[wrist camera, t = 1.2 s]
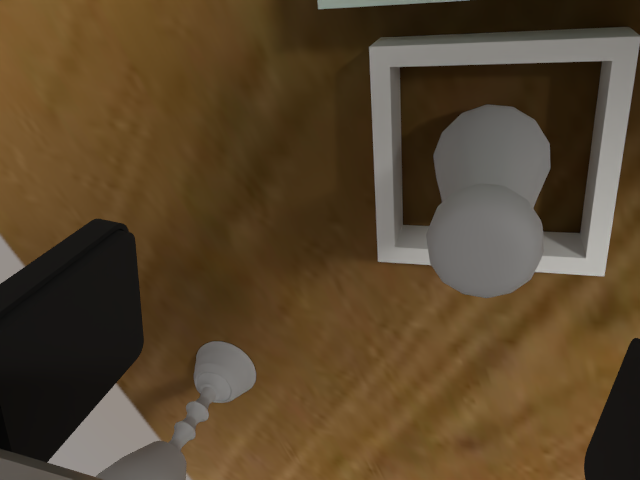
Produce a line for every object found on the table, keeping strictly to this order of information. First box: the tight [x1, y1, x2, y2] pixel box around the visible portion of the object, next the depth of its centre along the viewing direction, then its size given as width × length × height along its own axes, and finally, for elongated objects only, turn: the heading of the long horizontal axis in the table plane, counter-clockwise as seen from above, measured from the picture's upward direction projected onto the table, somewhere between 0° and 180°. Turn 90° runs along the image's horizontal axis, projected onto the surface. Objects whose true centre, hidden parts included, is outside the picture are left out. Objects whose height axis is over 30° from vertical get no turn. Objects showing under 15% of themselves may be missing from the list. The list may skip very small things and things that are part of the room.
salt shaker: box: [426, 104, 551, 298], centre depth 27 cm, size 6×6×13 cm
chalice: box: [96, 341, 256, 480], centre depth 38 cm, size 7×7×18 cm
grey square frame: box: [369, 27, 640, 276], centre depth 31 cm, size 12×12×3 cm
